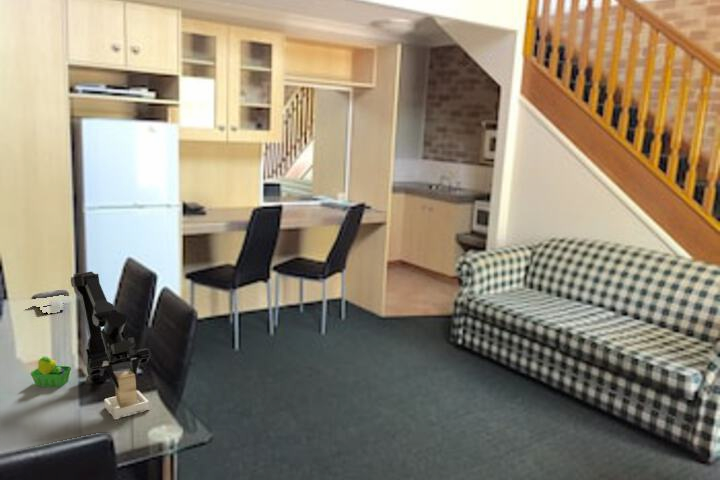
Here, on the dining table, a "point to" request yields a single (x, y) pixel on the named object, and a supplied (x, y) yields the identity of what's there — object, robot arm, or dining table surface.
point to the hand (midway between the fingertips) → (126, 385)
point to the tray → (115, 412)
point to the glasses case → (51, 294)
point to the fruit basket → (50, 373)
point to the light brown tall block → (126, 389)
